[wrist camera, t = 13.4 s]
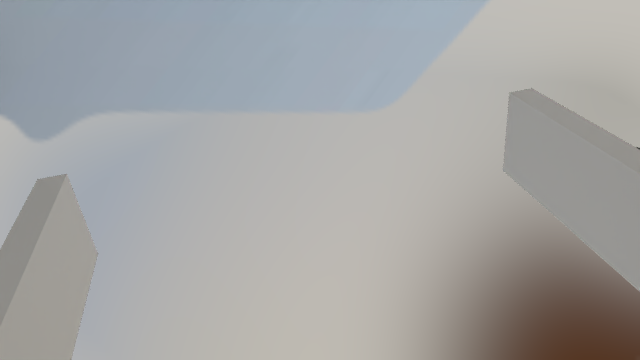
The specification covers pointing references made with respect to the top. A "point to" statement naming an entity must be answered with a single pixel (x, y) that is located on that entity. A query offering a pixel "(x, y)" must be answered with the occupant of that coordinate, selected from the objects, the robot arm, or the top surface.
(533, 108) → the robot arm
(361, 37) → the top surface
